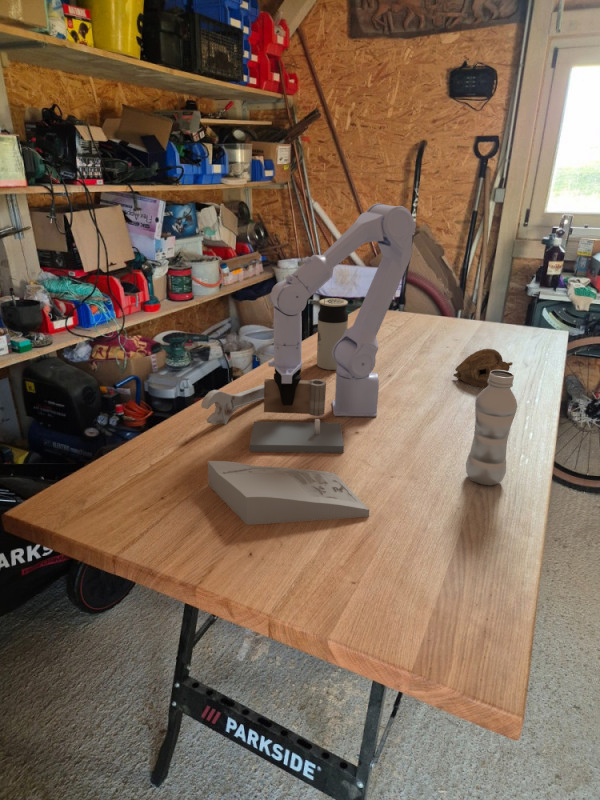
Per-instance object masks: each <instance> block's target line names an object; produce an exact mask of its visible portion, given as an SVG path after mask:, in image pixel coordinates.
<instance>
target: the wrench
mask: <svg viewBox="0 0 600 800" xmlns="http://www.w3.org/2000/svg"><path fill="white" fill-rule="evenodd" d="M261 400H264V384H260V385H257V386H255V387H252V388H249V389H246V390H243V391H240V392H238V393H235V394H232V393H226V392H223V391H221V390H218V389H213V390H210V391H208V393H206V395H205V396H204V398H203V399H202V401H201V406H200V407H201V408H202V409H206V410H208V409H210V408H211V407H212V406H213V405H214V407H215V410H214V412H212V413H211V414H210V415H209V416H208V417H207V418H206V422H207V424H211V425H218V424H223V425H227V423H228V422H229V419H230V418H231V417H232V416H233V414H234V413H235V412H237V410H238V409H239V408H242V407H244V406H247V405H250V404H253V403H255V402H258V401H261Z"/></svg>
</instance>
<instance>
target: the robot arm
mask: <svg viewBox="0 0 600 800" xmlns="http://www.w3.org/2000/svg"><path fill="white" fill-rule="evenodd" d="M416 227H417V224H416V222H415V220H414V217H413V215H412V213H411V211H410V210H409V209H408V208H406V207H405V206H402V205H397V206H395V205H387V204H384V203H375V204H372V205H371V206H370V207H369V208H368V209H367V210H366V211H364V212H362V213H361V214H360V215H359V216H358V217H357V219H356V220H355V222H353V224H351V226H349V227H348V229H346V231H345V232H344V233H343V234H342V235H340V237H338V239H337V240H336V241H335V242H334V243H332V245H330V247H329V248H327V250H325V251H324V252H323V254H312V256H310V257H309V256H306V257H304V259H302V262H303V263H302V264H301V265H300V266H299V267H298V268H297V269H296V270H295V271H293V272H292V274H287V275H286V276H285V277H284V278H285V280H282V281H279V282H277V283H276V284H275V285H273V287H272V288H271V291H270V294H268V299H269V302H270V304H271V305H272V306H273V320H272V321H273V322H272V323H273V324H272V325H273V359H272V360H268V364H267V365H268V367H273V368H274V373H273V379H274V380H275V382H276V384H277V386H278V388H279V391H280V396H281V401H282V404H283V405H291V406H292V405H293V401H294V396H295V391H296V388H297V385H298V383H299V381H300V380H301V379H302V375H301V373H302V368H303V361H302V342H303V341H302V334H303V333H302V322H303V321H302V311H304V310H305V308H306V306H307V304H308V303H307V302H308V300H309V299H310V297H312V296H313V295H315V293H316V292H318V291H319V289H321V288H322V287H323V286H324V285H325V284H326V283H327V282H329V280H331V279H332V278H333V273H334V268H335V267H337V266H338V265H339V264H340V263H341V262H343V261H345V259H346V258H348V257H349V256H350V255H352V254H353V253H354V252H355V251H356V250H358V249H359V248H360V247H361V246H363V245H364V244H366V243H373V242H375V243H377V245H378V247H379V248H378V249H379V250H380V253H381V254H382V257H381V260H380V262H379V263H378V264H379V265H378V266H377V269H376V271H375V273H374V275H373V278H372V280H371V283H370V284H369V288H368V290H367V292H366V294H365V297H364V300H363V301H362V303H361V306H360V308H359V310H358V313H357V315H356V318H355V320H354V322H353V324H352V326H350V327H349V328H347V330H346V331H345V332H344V334H343V336H342V338H341V339H340V340H339V341H338V342H337V343H336V344H335V346H334V348H333V358H334V360H335V361H336V362H337V369H336V370H335V372H336V374H335V393H334V395H335V397H334V399H333V400H331V402H332V403H331V404H332V410H333V415H334V417H377V416H378V414H377V412H378V403H379V400H378V399H379V388H380V387H379V386H380V385H379V374H378V372H373V370H374V368H375V366H376V357H377V353H378V350H379V344H378V339H377V335H378V333H379V330H380V328H381V326H382V323H383V321H384V320H385V317H386V315H387V312H388V311H389V308H390V306H391V304H392V302H393V299H394V296H395V294H396V292H397V290H398V288H399V286H400V284H401V281H402V279H403V277H404V275H405V273H406V270H407V268H408V265H409V263H410V261H411V258H412V254H413V235H414V232H415V230H416Z"/></svg>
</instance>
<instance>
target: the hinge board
mask: <svg viewBox="0 0 600 800" xmlns="http://www.w3.org/2000/svg"><path fill="white" fill-rule="evenodd" d="M344 449H345V444H344V437H343V430H342V423H341V422H321V420H320V418H319V419H318V418H315V419H314V422H312V421H311V422H310V421H309V422H308V421H307V422H305V421H304V422H300V421H299V422H295V421H294V422H293V421H289V422H288V421H253V425H252V430H251V435H250V440H249V453H250V452H251V453H253V452H255V453H256V452H257V453H258V452H259V453H260V452H261V453H262V452H263V453H314V454H315V453H318V454H319V453H321V454H322V453H323V454H325V453H328V454H329V453H330V454H336V453H337V454H343V453H344V451H345V450H344Z"/></svg>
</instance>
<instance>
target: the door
mask: <svg viewBox="0 0 600 800" xmlns="http://www.w3.org/2000/svg"><path fill="white" fill-rule="evenodd" d="M263 383H264V399H263V413H273V414H274V413H275V414H276V413H279V414H299V415H300V414H301V415H309V416H312V417H321V416H323V415H324V414H325V406H326V393H327V391H326V390H327V382H326V380H324V379H319V378H315V379H310V380H308V379H307V380H304V379H303V380H301V379H300V381H299V383H298V385H297V388H296V391H295V396H294V401H293V405H292V406H291V405H283V404H282V401H281V396H280V391H279V388H278V386H277V384H276V382H275V380H274V378H265V379H264V382H263Z"/></svg>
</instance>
